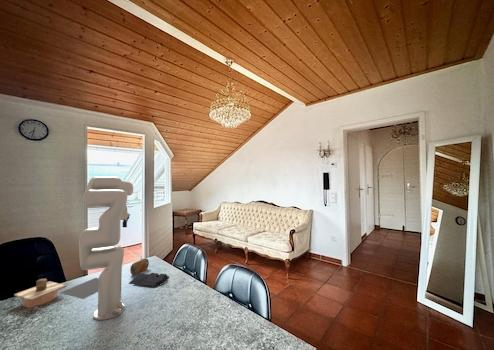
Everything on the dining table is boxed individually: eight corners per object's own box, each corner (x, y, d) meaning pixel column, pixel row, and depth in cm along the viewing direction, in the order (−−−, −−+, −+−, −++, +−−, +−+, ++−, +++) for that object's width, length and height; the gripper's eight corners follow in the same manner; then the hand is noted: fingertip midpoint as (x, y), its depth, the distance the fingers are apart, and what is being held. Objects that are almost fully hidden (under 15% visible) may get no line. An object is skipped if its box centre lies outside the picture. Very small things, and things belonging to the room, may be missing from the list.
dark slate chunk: (142, 275, 143) (142, 268, 143) (171, 278, 139) (171, 270, 139) (125, 286, 128) (125, 278, 128) (157, 289, 124) (157, 281, 124)
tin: (132, 277, 139) (133, 264, 140) (129, 276, 140) (129, 264, 141) (149, 268, 154) (149, 256, 154) (145, 268, 155) (145, 256, 155)
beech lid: (66, 286, 117) (66, 276, 117) (31, 301, 102) (31, 289, 103) (49, 282, 122) (50, 272, 122) (14, 295, 108) (14, 284, 108)
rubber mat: (117, 283, 131) (117, 282, 131) (83, 299, 112) (83, 298, 112) (95, 278, 138) (95, 277, 138) (59, 293, 119) (59, 292, 119)
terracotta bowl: (61, 296, 115) (61, 287, 116) (32, 309, 104) (33, 298, 104) (47, 293, 120) (48, 284, 120) (19, 304, 108) (19, 294, 108)
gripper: (110, 204, 129) (110, 232, 128) (133, 201, 145) (133, 226, 144) (101, 203, 131) (101, 231, 130) (125, 201, 147) (125, 225, 147)
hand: (118, 228), depth 137 cm, fingers open, 9 cm apart
